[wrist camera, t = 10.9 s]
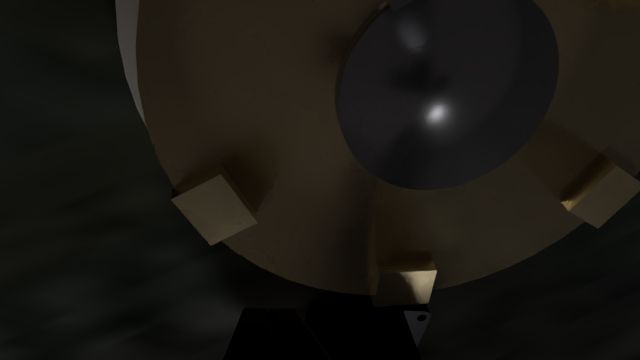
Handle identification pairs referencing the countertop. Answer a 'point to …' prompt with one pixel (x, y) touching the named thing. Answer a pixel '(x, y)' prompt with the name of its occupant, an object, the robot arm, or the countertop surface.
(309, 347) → the robot arm
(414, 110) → the shallow round tray
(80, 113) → the countertop surface
